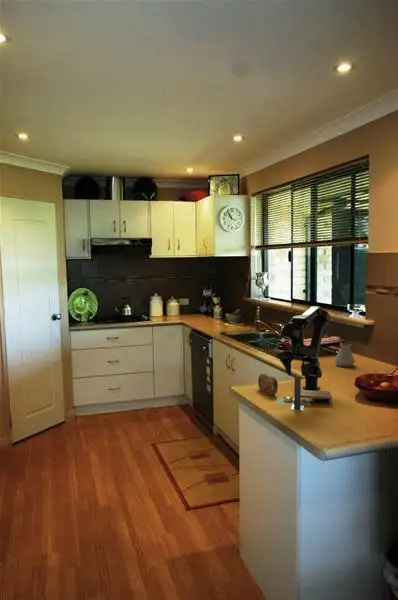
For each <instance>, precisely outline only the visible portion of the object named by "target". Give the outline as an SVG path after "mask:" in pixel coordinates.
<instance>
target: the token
mask: <svg viewBox="0 0 398 600" xmlns="http://www.w3.org/2000/svg"><path fill="white" fill-rule="evenodd" d="M283 398H284V402H293V398H294V396H291V395H285V396H283Z"/></svg>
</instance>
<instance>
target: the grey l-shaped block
mask: <svg viewBox="0 0 398 600" xmlns="http://www.w3.org/2000/svg"><path fill="white" fill-rule="evenodd" d="M301 387H302V377H301V376H295V377H294V387H293V388H294V390H293V391H294V392H293V394H294V395H293V404H292V405H291V408H290V411H293V412H304V409H305V406H306V405H305V401H306V399H307V398H301V390H302V388H301Z"/></svg>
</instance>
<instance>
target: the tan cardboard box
mask: <svg viewBox="0 0 398 600" xmlns="http://www.w3.org/2000/svg"><path fill="white" fill-rule="evenodd" d="M301 399H312V400H313V401H314V400H315V401H327V402H328V404H329V406H333V396H332V394H331V392H330V391H329V390H328V391H326V390H315V391H313V390H308V389H304V390H303V389H301Z"/></svg>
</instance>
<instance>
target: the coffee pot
mask: <svg viewBox="0 0 398 600" xmlns="http://www.w3.org/2000/svg"><path fill="white" fill-rule="evenodd" d="M338 340H339V342H340V343H339V346H340V348H339V350H338V352H337V355H336V356H335V358H334V362H335V364H337V366H338V365H340V366H339V367H342V366H351V367H352V366H353V365H354V364H355V362H356V361H355V358H354V355H353V353H352V351H351V349H350V347H351V346H352V344H351V343H344V342H343V340H342V337H341V336H338Z"/></svg>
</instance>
